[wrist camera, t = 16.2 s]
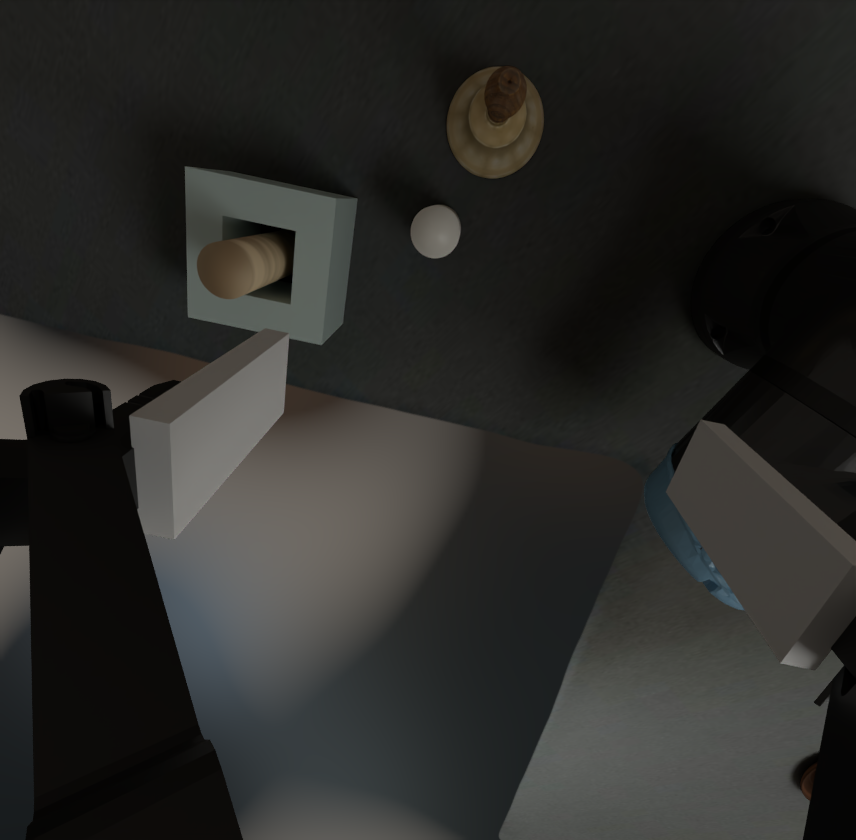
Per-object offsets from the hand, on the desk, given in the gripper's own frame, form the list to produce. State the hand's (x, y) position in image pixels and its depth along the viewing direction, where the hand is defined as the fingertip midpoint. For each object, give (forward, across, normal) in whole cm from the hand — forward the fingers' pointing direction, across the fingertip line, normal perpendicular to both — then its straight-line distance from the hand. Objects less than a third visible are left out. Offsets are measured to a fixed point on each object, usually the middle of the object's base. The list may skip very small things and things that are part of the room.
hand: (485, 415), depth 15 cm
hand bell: (+35, +1, -12) cm, 37 cm away
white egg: (+35, +4, -3) cm, 35 cm away
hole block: (+35, +18, +2) cm, 39 cm away
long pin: (+35, +18, +2) cm, 39 cm away
